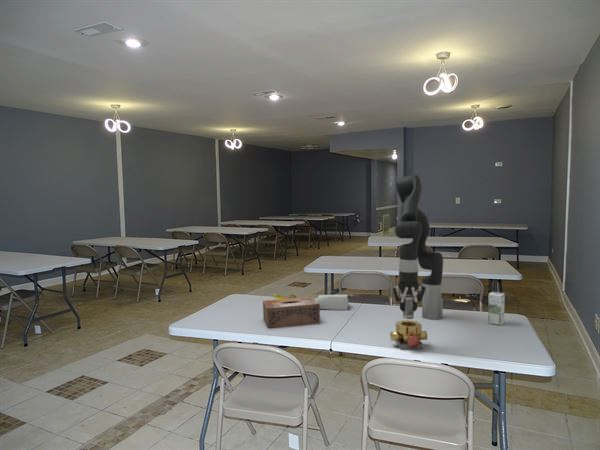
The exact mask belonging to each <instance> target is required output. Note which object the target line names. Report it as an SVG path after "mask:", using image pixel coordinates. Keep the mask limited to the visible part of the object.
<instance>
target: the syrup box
mask: <svg viewBox="0 0 600 450" xmlns="http://www.w3.org/2000/svg"><path fill="white" fill-rule="evenodd" d="M505 298H506V297H505V293H504V292H497V291H491V292H489V293H488V304H487V305H488V318H487V319H488V324H491V325H497V326H501V325H503V324H504V323H505Z"/></svg>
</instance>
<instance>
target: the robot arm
mask: <svg viewBox="0 0 600 450" xmlns="http://www.w3.org/2000/svg"><path fill="white" fill-rule="evenodd" d="M421 180H422V179H420V176H419V175H418V174H411V175H406V176H402V177H398V178H396V180H395V188H396V192H397V194H398V197H399V200H400V202H401V207H400V216H399V219H398V220H397V222H396V224H395V227H394V234H395V236H396V237H397V238H398V239H412V240H411V242H409V243H403V244H401V245H400V246H399V260H398V284H397V285H396V286H395V285H394V286H391V291H392V294H393V297H394V299H395V301H396V302H399V309H400V311H401V312H402V313H403V312H404V299H405V297H406V295H412V296H413V297H414V312H416V311H417V310H418V302H420V301H421V317H422V318H423V319H428V320H439V319H443V317H444V316H443V309H444V308H443V305H444V304H443V302H444V300H443V298H442V279H443V271H444V270H443V269H444V257H443V255H442V253H441V252H439V251H429V250H428V249H427V246H426V242H427V239H428V238H429V235H430V231H431V227H430V224H429V219H428V216H427V215H426V214H425V213H424V212H423V211H422V210H421V209H419V203H420V200H421V199H420V198H421V195H422V190H423V189H422V186H423V185H422V181H421ZM419 267H420V268H421V269H423V270H428V271H430V274H429V275H426V276H423V277H422V278H421V285H420V284H419ZM399 290H400V296H399V295H398V291H399ZM417 291H418V294H417Z"/></svg>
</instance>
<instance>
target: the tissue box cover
mask: <svg viewBox="0 0 600 450" xmlns="http://www.w3.org/2000/svg"><path fill="white" fill-rule="evenodd" d="M262 310H263V311H262V316H263V322H264V323H265V325H266V327H267V329H275V328H284V327H285V328H286V327H295V326H306V325H307V326H308V325H315V324H320V323H321V319H320V318H321V314H320V313H321V311H320V310H321V309H320V304H319V303H318V302H317V301H316V300H315V299H314V297H313V296H305V297H303V296H302V297H297V298H291V299H267V300H262Z"/></svg>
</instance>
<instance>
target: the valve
mask: <svg viewBox="0 0 600 450" xmlns="http://www.w3.org/2000/svg"><path fill="white" fill-rule="evenodd" d="M422 327H423V325H422V324H421V322H419V321H415V320H413V319H412V320H411V319H407V320H406V319H405V320H404V319H401V320H399V321H396V323H395V331H390V334H389V335H390V341H393V342H395V344H396V345H397V346H398V347H399V349H400V351H401V350H403V351H404V350H424V343H423V342H421V341H427V340H428V332H427V331H426V330H422Z"/></svg>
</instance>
